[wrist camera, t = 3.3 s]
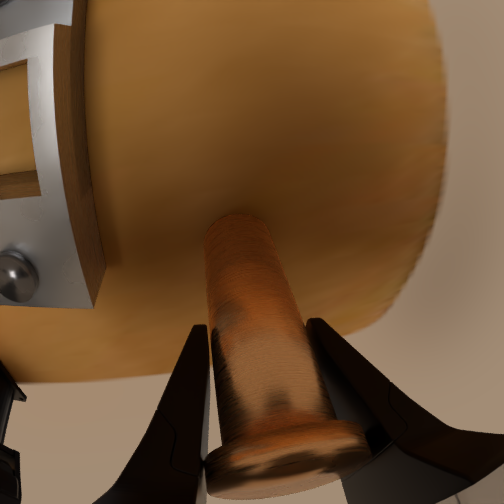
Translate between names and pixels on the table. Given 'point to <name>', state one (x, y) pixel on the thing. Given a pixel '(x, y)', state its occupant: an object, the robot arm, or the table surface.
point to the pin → (267, 376)
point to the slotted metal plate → (49, 164)
